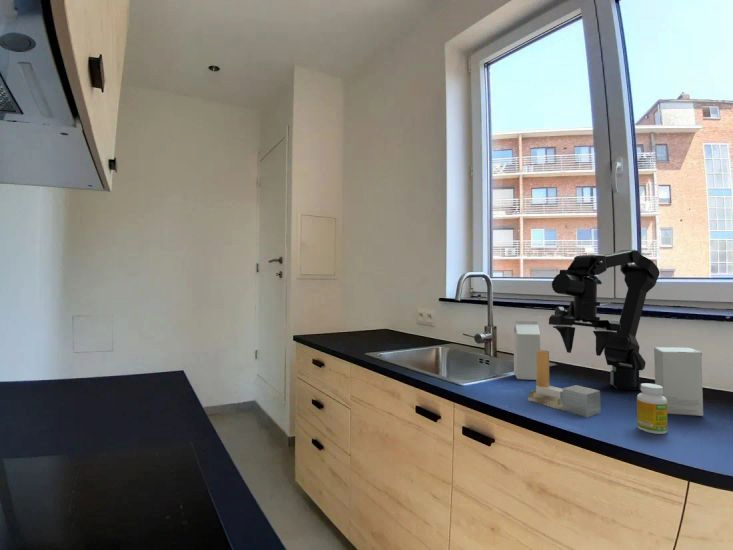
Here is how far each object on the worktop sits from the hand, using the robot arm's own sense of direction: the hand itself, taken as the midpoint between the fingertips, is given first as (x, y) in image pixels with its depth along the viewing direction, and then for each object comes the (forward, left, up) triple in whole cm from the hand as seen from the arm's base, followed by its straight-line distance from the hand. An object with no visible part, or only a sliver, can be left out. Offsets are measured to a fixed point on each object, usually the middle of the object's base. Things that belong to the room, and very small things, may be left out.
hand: (583, 354), depth 111 cm
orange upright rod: (+10, +7, -11) cm, 17 cm away
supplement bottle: (-7, +22, -12) cm, 27 cm away
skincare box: (-19, +7, -12) cm, 24 cm away
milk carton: (+12, -21, -12) cm, 27 cm away
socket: (+4, +13, -12) cm, 18 cm away
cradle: (+10, +7, -12) cm, 17 cm away
